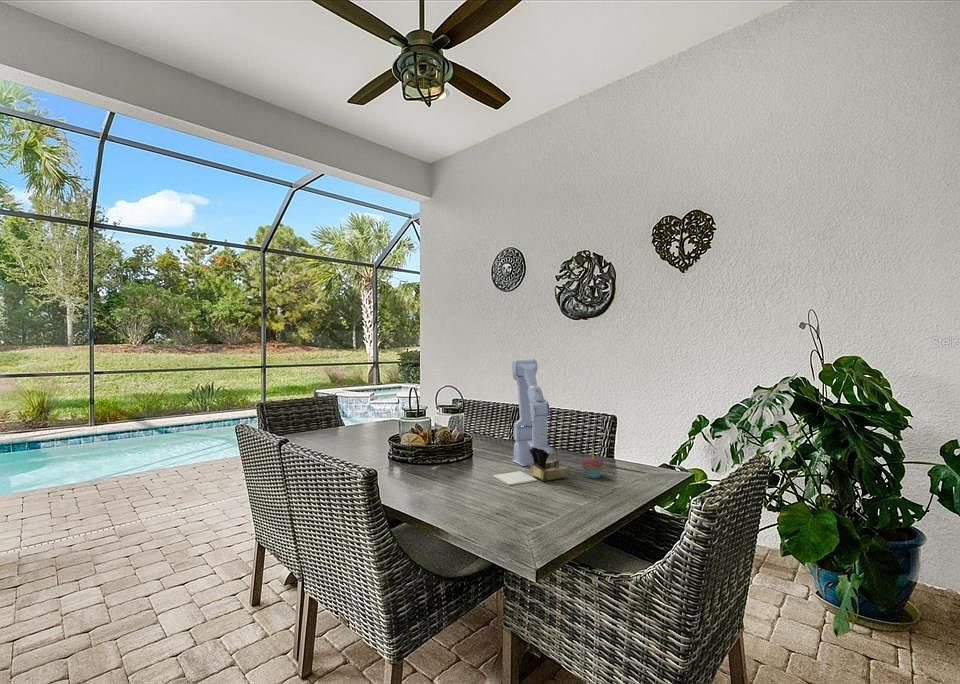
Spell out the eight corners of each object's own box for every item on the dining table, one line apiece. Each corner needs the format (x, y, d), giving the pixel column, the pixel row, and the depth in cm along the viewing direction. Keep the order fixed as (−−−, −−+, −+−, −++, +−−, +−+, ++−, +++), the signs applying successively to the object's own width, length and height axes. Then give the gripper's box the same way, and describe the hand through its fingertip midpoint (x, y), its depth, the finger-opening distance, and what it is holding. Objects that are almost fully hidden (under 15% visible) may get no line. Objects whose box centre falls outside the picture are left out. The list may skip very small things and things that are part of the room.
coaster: (493, 476, 175) (493, 475, 175) (519, 472, 181) (519, 471, 181) (508, 485, 165) (508, 484, 165) (536, 481, 170) (536, 479, 170)
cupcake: (605, 480, 171) (605, 448, 171) (581, 479, 172) (581, 447, 172) (602, 473, 180) (602, 442, 180) (580, 472, 181) (580, 442, 181)
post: (552, 475, 176) (552, 458, 176) (557, 475, 177) (557, 458, 177) (555, 477, 174) (555, 460, 174) (560, 476, 175) (560, 459, 175)
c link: (530, 472, 176) (530, 463, 176) (553, 468, 181) (554, 460, 181) (543, 480, 168) (543, 471, 168) (567, 476, 173) (567, 467, 173)
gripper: (520, 430, 181) (520, 464, 181) (541, 437, 168) (541, 474, 168) (535, 429, 184) (536, 462, 184) (557, 435, 171) (557, 472, 171)
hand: (539, 468), depth 177 cm, fingers closed on c link, 2 cm apart
